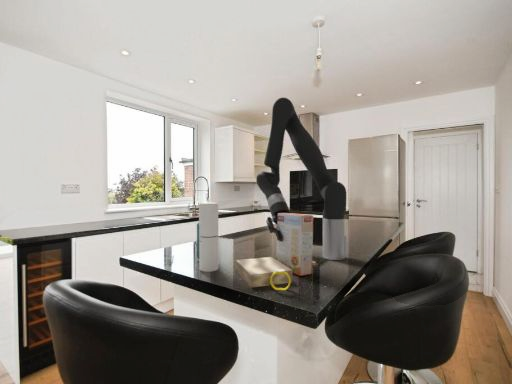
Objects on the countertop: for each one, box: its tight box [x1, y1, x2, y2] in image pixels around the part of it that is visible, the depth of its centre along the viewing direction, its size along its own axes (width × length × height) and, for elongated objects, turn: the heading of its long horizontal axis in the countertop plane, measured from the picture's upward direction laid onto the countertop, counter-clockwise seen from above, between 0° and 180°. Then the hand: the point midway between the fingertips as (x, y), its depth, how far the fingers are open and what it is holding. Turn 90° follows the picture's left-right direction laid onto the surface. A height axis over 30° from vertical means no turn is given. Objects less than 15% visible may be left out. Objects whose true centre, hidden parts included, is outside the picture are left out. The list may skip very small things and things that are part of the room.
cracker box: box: [275, 212, 314, 277], centre depth 99 cm, size 14×6×21 cm, turn 32°
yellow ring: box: [270, 269, 291, 291], centre depth 81 cm, size 6×3×6 cm, turn 80°
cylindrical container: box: [198, 202, 220, 273], centre depth 102 cm, size 7×7×25 cm
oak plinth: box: [235, 256, 293, 288], centre depth 93 cm, size 14×18×4 cm
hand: (290, 239), depth 101 cm, fingers open, 7 cm apart
